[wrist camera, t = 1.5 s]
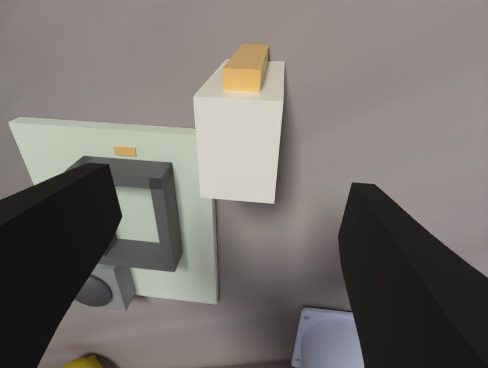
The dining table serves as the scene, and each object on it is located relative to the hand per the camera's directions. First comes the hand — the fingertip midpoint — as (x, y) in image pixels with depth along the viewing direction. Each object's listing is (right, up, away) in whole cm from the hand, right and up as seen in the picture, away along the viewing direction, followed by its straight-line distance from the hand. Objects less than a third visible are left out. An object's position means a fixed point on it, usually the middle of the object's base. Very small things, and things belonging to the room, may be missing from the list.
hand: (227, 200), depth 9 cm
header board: (-8, -2, +15) cm, 17 cm away
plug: (+1, +5, +8) cm, 10 cm away
